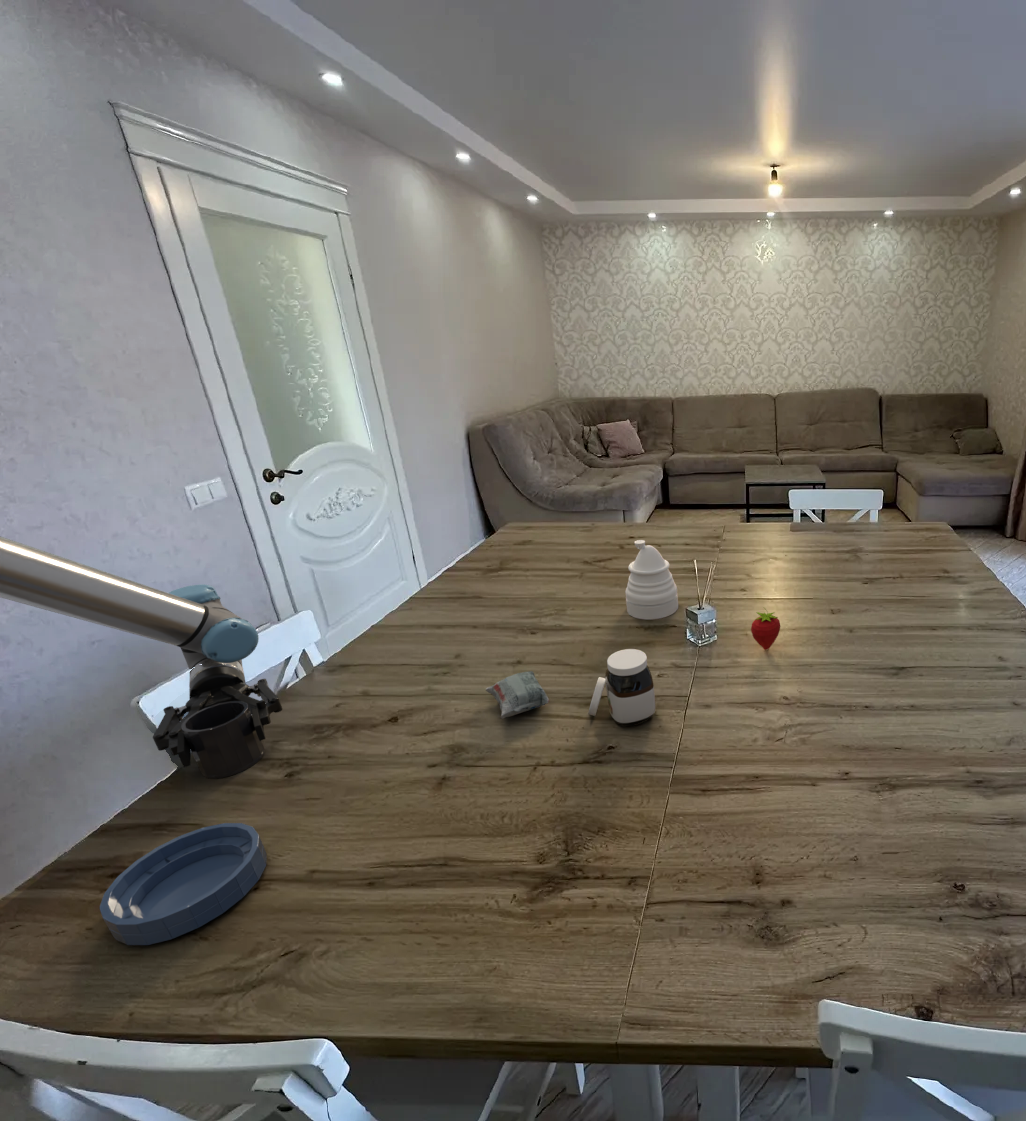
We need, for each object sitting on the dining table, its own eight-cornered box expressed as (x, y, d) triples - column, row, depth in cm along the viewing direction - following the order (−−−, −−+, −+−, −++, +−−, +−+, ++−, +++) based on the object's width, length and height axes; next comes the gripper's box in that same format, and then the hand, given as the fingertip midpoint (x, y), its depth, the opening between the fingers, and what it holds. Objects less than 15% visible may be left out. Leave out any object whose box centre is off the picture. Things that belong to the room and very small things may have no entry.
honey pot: (633, 623, 139) (627, 553, 133) (621, 602, 150) (615, 536, 144) (684, 613, 144) (681, 545, 137) (669, 593, 155) (665, 529, 148)
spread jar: (662, 722, 104) (657, 666, 99) (599, 742, 99) (591, 684, 95) (640, 689, 114) (635, 636, 109) (582, 705, 109) (574, 651, 104)
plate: (76, 949, 66) (61, 924, 65) (190, 845, 80) (179, 823, 78) (202, 948, 66) (190, 924, 65) (294, 844, 80) (286, 822, 78)
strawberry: (745, 653, 126) (744, 611, 122) (762, 638, 132) (762, 598, 128) (768, 660, 123) (768, 618, 119) (785, 645, 129) (786, 604, 125)
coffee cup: (188, 779, 92) (166, 732, 88) (230, 745, 99) (212, 700, 96) (238, 778, 92) (219, 731, 88) (277, 745, 99) (260, 700, 96)
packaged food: (502, 729, 102) (498, 705, 101) (487, 697, 111) (482, 675, 110) (552, 712, 107) (549, 689, 105) (533, 682, 116) (530, 661, 114)
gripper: (295, 680, 114) (312, 735, 98) (145, 726, 101) (137, 799, 85) (283, 646, 111) (299, 698, 95) (128, 689, 98) (116, 757, 82)
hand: (223, 745), depth 90 cm, fingers open, 8 cm apart
